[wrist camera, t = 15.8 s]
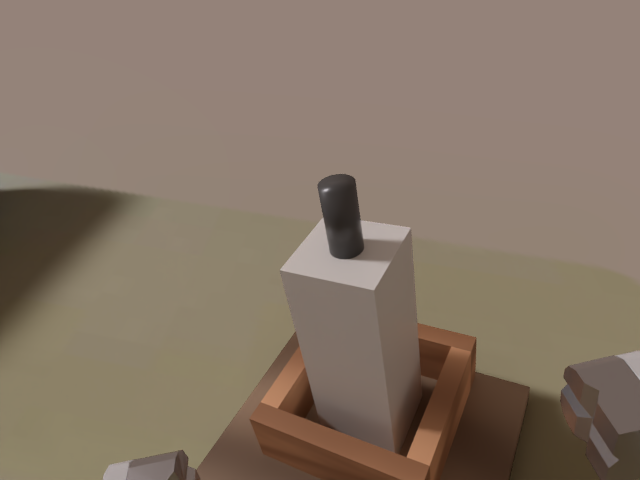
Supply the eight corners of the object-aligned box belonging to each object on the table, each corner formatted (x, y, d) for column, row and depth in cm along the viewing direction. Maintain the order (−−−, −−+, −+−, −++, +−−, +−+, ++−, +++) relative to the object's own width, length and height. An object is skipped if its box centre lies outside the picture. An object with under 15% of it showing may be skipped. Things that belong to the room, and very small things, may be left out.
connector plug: (396, 461, 24) (364, 220, 16) (322, 434, 26) (262, 205, 18) (422, 395, 27) (406, 162, 19) (354, 375, 29) (314, 154, 21)
